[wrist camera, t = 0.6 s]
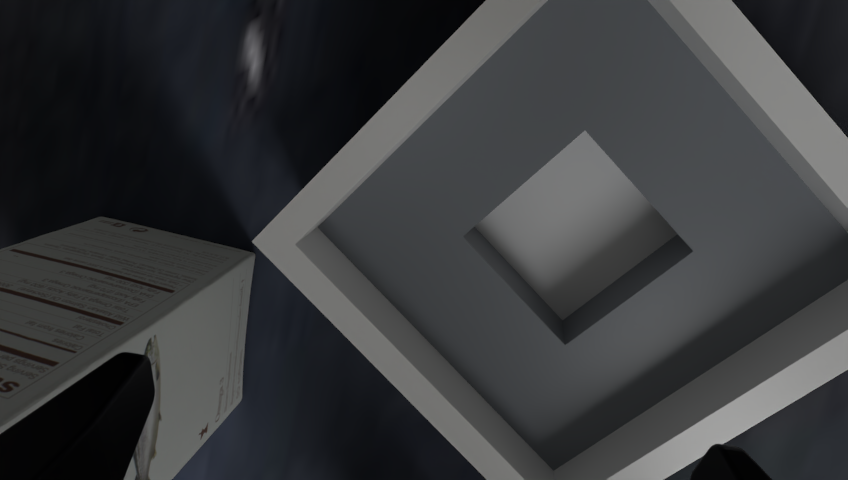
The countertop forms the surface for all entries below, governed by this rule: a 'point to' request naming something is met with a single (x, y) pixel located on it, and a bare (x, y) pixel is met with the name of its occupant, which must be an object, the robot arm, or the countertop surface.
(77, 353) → the supplement box
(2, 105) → the countertop surface
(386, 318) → the grey box
